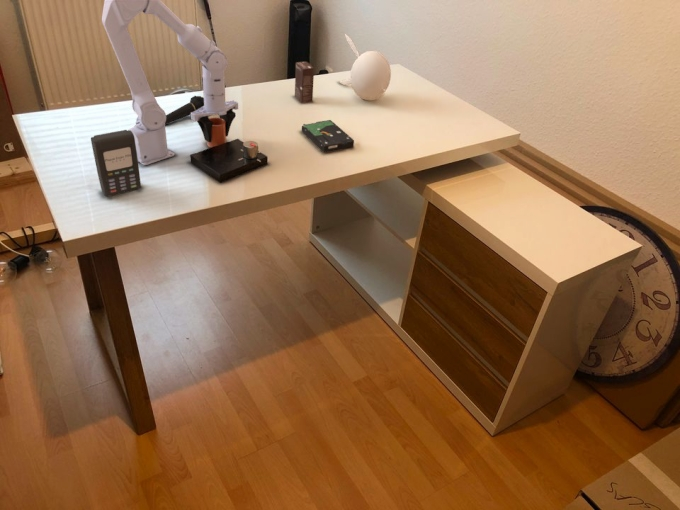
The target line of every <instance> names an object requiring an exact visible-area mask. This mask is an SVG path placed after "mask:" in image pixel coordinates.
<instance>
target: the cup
mask: <svg viewBox="0 0 680 510" xmlns="http://www.w3.org/2000/svg"><path fill="white" fill-rule="evenodd" d="M208 118H209V120H210V121H212V122H213V124H212V129H211V142H207V141H206V144H207V146H208V147H209V148H212V147H214V146H217V145H220V144H223V143H226V142H227V137H226V122H225V120H224V119H221V118H220V117H208Z"/></svg>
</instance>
